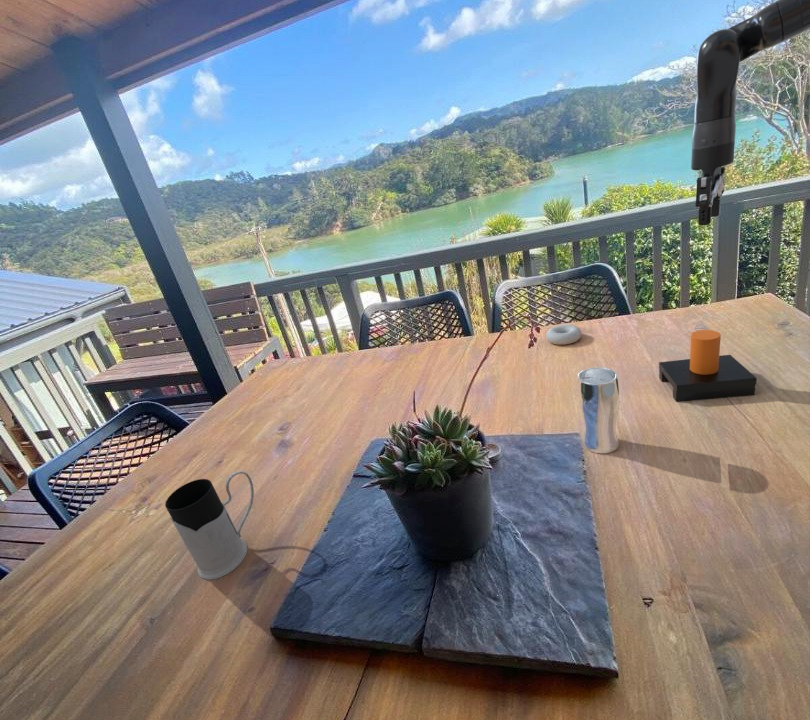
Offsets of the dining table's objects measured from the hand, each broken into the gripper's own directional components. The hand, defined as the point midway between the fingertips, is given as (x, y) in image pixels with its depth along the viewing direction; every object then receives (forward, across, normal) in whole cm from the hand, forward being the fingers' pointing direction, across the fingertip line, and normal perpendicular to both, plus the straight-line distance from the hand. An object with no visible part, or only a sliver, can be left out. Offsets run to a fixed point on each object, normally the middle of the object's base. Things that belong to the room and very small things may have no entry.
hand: (708, 220), depth 99 cm
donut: (+30, -7, +34) cm, 46 cm away
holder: (+30, -107, +50) cm, 122 cm away
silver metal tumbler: (+30, -51, +6) cm, 60 cm away
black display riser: (+30, -23, -5) cm, 38 cm away
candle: (+26, -23, -5) cm, 35 cm away
